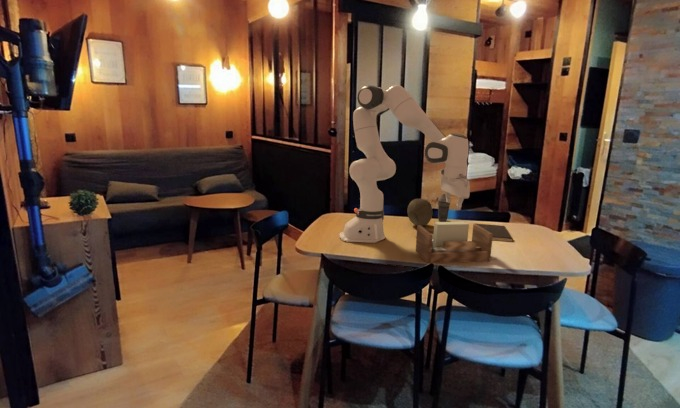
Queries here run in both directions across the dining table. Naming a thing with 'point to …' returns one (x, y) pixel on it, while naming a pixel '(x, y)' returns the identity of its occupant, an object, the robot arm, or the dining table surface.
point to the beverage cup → (443, 208)
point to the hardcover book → (497, 232)
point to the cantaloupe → (420, 212)
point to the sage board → (449, 232)
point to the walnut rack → (479, 255)
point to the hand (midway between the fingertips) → (453, 204)
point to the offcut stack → (456, 247)
